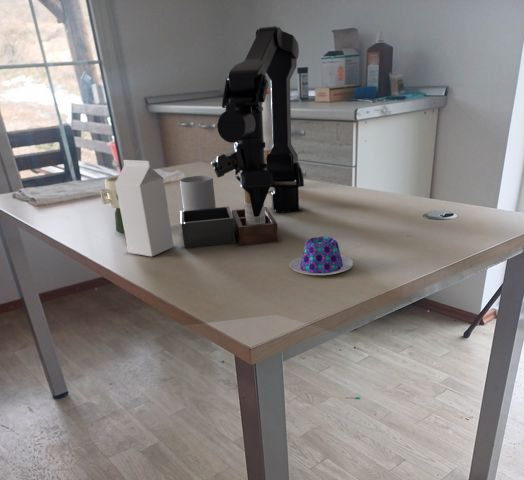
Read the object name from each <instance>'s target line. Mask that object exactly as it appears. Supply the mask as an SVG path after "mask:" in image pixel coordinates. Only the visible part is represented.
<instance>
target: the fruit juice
mask: <svg viewBox="0 0 524 480" xmlns="http://www.w3.org/2000/svg"><path fill="white" fill-rule="evenodd" d="M262 107H263V111H262V118H263V138H264V142H265V148H264V160H265V163H266V164H267V160H266V157H267V155H268V154H269V153H270V151H271V149H272V147H273V132H272V102H271V88H268V89H267V93H266V97H265V101H264V102H263V103H262ZM268 192H273V187H270V188H269V191H268Z"/></svg>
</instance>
